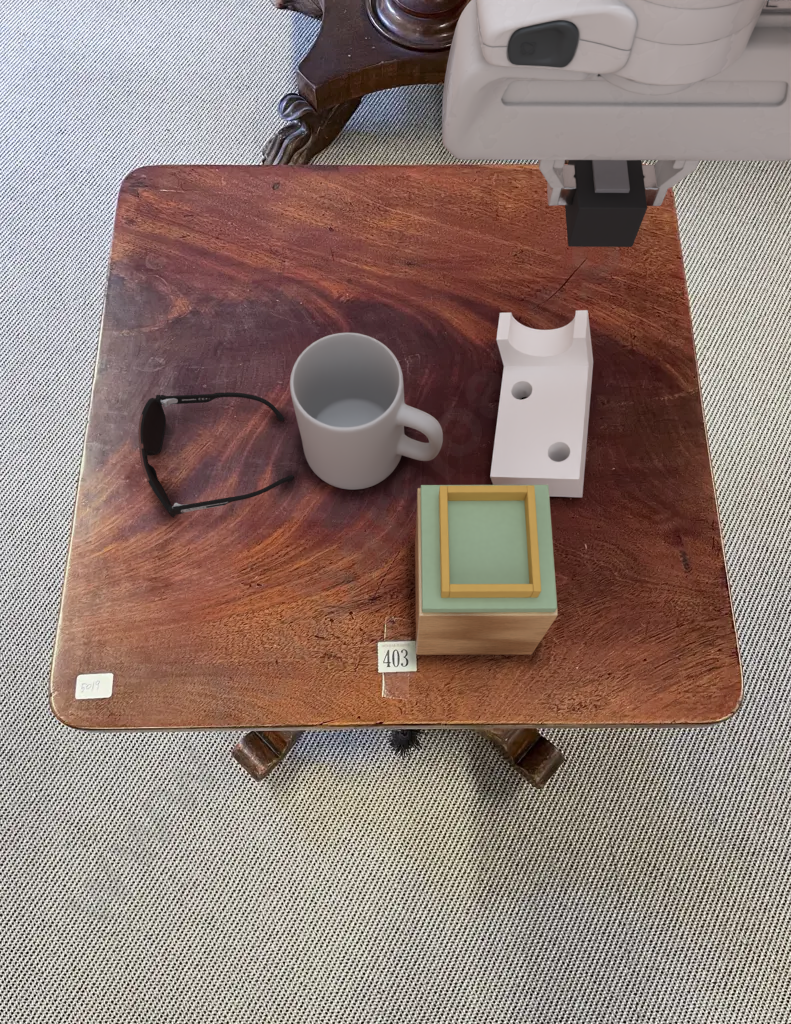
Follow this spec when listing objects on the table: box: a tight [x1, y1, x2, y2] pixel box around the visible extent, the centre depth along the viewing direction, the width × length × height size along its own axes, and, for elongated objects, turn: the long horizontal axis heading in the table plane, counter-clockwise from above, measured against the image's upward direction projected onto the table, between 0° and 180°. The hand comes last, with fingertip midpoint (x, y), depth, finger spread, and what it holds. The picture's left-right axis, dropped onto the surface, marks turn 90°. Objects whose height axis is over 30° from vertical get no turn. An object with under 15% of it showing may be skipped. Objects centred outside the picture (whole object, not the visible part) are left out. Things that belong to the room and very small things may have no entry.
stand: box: [414, 487, 559, 656], centre depth 63 cm, size 9×9×12 cm
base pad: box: [420, 484, 558, 612], centre depth 56 cm, size 9×9×2 cm
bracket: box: [489, 309, 594, 498], centre depth 71 cm, size 13×7×8 cm, turn 171°
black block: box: [564, 160, 648, 248], centre depth 52 cm, size 4×5×4 cm
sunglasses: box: [137, 391, 295, 519], centre depth 71 cm, size 11×12×5 cm
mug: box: [289, 332, 444, 491], centre depth 68 cm, size 12×8×11 cm
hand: (602, 197), depth 53 cm, fingers closed on black block, 4 cm apart
